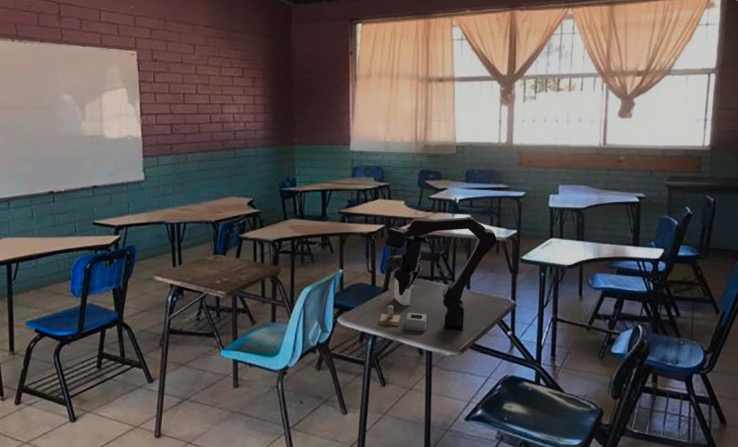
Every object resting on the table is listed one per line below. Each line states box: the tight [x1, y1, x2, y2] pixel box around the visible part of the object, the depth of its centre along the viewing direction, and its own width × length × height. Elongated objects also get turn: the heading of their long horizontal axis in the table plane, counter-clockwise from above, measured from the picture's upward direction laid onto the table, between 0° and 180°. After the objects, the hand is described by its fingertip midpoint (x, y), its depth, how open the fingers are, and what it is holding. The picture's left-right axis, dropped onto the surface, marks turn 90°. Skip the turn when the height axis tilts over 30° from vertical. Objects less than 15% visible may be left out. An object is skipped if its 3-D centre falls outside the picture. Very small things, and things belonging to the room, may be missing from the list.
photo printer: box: [393, 278, 412, 306], centre depth 256 cm, size 10×4×12 cm, turn 17°
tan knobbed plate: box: [379, 305, 401, 327], centre depth 233 cm, size 7×7×6 cm
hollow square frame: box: [405, 312, 428, 332], centre depth 229 cm, size 7×7×4 cm
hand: (403, 291), depth 231 cm, fingers open, 9 cm apart
